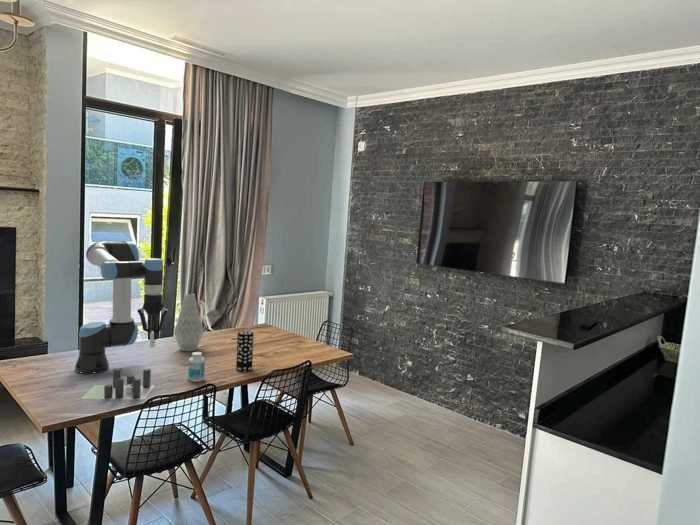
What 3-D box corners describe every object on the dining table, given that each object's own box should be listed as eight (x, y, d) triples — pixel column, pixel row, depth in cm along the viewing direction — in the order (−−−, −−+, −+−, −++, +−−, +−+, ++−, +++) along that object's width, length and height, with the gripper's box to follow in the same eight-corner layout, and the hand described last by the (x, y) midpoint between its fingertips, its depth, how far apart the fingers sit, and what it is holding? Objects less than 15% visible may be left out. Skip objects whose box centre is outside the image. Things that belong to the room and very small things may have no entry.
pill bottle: (198, 376, 253) (199, 350, 251) (207, 380, 248) (208, 353, 247) (185, 379, 247) (185, 352, 245) (193, 383, 242) (194, 356, 241)
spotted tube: (236, 372, 262) (238, 334, 260) (235, 367, 270) (237, 331, 268) (252, 372, 264) (254, 334, 262) (251, 367, 272) (253, 330, 270)
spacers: (101, 398, 215) (102, 380, 214) (114, 385, 231) (114, 368, 230) (141, 398, 217) (142, 380, 216) (151, 385, 233) (151, 369, 232)
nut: (125, 394, 221) (125, 387, 220) (129, 389, 227) (129, 383, 226) (137, 394, 221) (137, 387, 221) (141, 389, 227) (141, 383, 227)
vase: (206, 346, 307) (207, 293, 304) (198, 353, 291) (200, 297, 287) (178, 344, 307) (179, 291, 303) (169, 352, 290) (171, 296, 287)
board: (80, 401, 213) (80, 398, 213) (94, 387, 230) (94, 385, 230) (144, 401, 217) (144, 399, 217) (154, 387, 234) (154, 385, 233)
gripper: (135, 294, 216) (134, 348, 218) (166, 295, 218) (165, 348, 220) (140, 292, 223) (139, 344, 225) (170, 292, 225) (169, 344, 227)
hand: (152, 346), depth 223 cm, fingers closed
